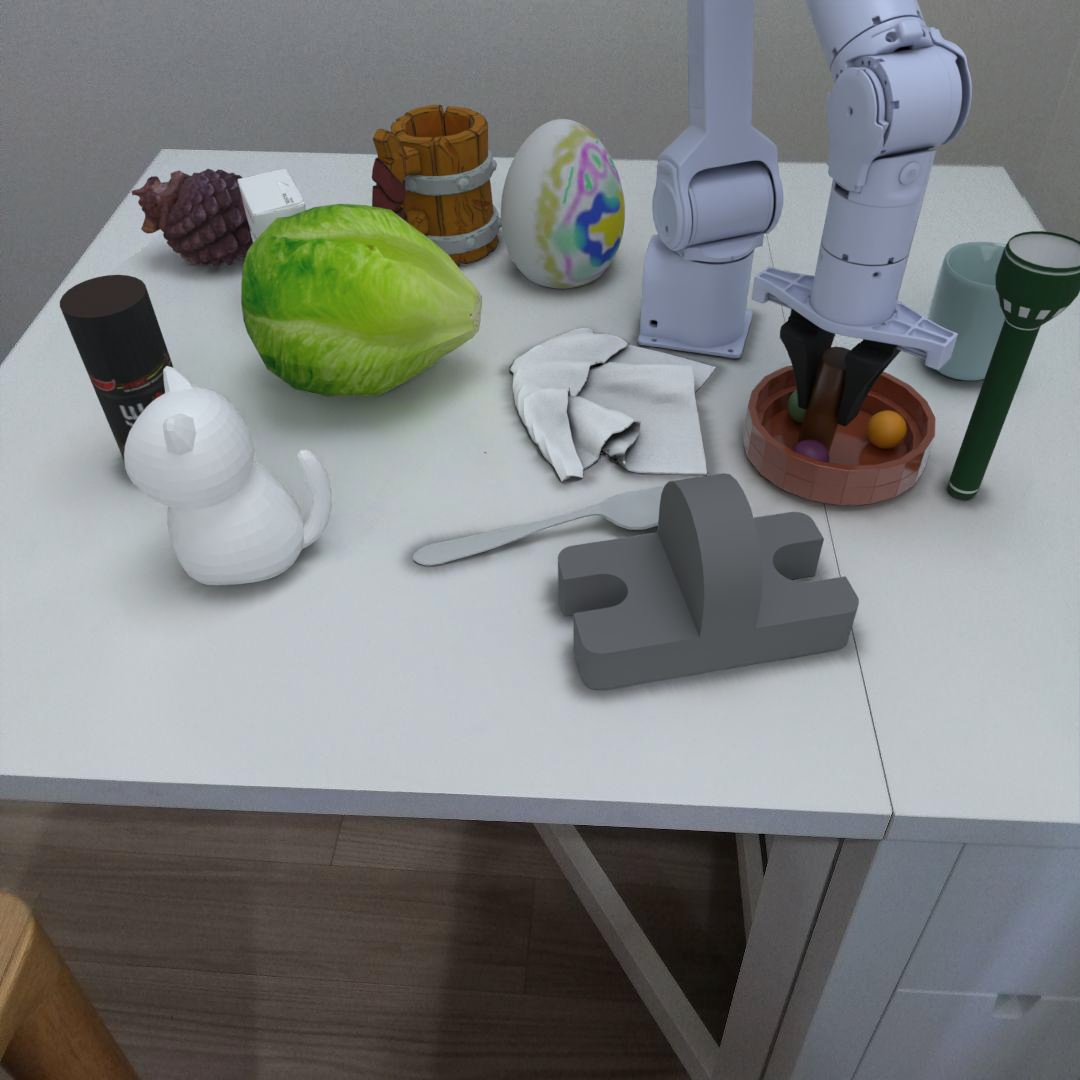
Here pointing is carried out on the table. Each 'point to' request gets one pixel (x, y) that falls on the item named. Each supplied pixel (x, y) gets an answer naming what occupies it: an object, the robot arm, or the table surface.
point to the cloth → (610, 404)
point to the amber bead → (886, 429)
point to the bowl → (838, 444)
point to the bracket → (701, 590)
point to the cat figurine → (220, 487)
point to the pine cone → (198, 215)
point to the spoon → (620, 509)
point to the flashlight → (1015, 339)
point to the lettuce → (353, 300)
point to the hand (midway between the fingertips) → (828, 410)
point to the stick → (825, 398)
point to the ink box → (269, 199)
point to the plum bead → (812, 450)
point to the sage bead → (795, 408)
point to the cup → (969, 307)
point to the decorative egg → (562, 206)
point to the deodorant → (118, 346)
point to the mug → (440, 178)
